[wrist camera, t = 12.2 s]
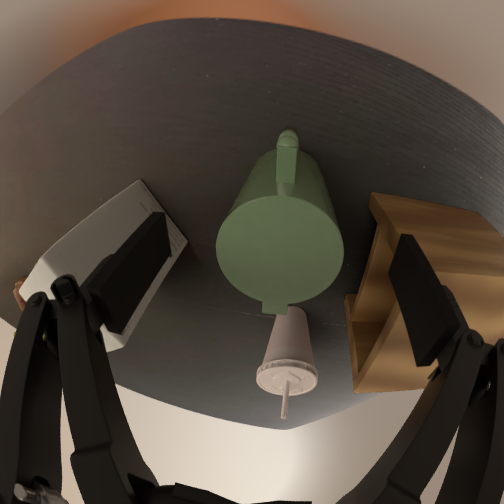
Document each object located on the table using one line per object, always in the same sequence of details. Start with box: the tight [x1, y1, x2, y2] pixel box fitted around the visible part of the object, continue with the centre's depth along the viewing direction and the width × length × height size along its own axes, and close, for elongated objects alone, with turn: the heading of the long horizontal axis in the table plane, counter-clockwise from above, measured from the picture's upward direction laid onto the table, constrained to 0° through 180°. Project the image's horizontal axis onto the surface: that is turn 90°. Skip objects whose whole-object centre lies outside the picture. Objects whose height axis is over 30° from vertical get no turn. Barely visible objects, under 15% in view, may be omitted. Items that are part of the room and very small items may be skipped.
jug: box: [216, 126, 344, 315], centre depth 19 cm, size 10×7×12 cm, turn 179°
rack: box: [344, 192, 504, 393], centre depth 21 cm, size 14×14×12 cm
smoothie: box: [256, 306, 318, 419], centre depth 27 cm, size 6×6×14 cm
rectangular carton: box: [19, 179, 188, 352], centre depth 23 cm, size 9×9×15 cm
